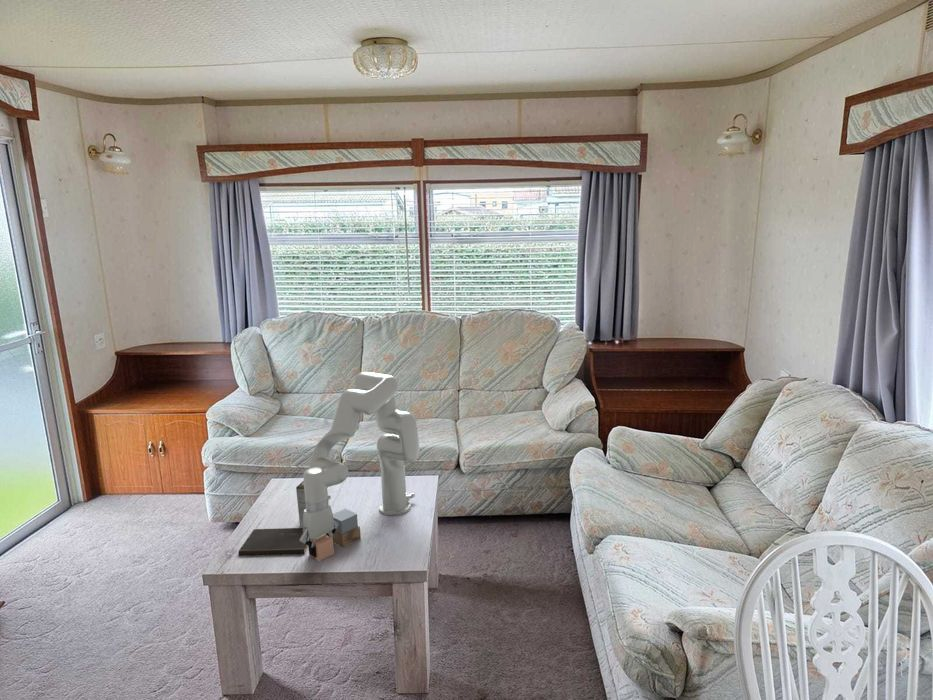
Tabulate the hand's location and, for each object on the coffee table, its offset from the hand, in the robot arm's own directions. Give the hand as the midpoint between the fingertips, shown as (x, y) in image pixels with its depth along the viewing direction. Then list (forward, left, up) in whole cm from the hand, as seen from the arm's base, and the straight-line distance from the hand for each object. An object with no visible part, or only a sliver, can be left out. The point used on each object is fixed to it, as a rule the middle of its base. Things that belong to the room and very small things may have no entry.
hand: (321, 551), depth 207 cm
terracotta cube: (0, 0, -1) cm, 1 cm away
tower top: (-12, -2, +3) cm, 12 cm away
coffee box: (-13, -24, -2) cm, 27 cm away
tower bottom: (-12, -2, -2) cm, 12 cm away
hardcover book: (+5, -19, -2) cm, 20 cm away
